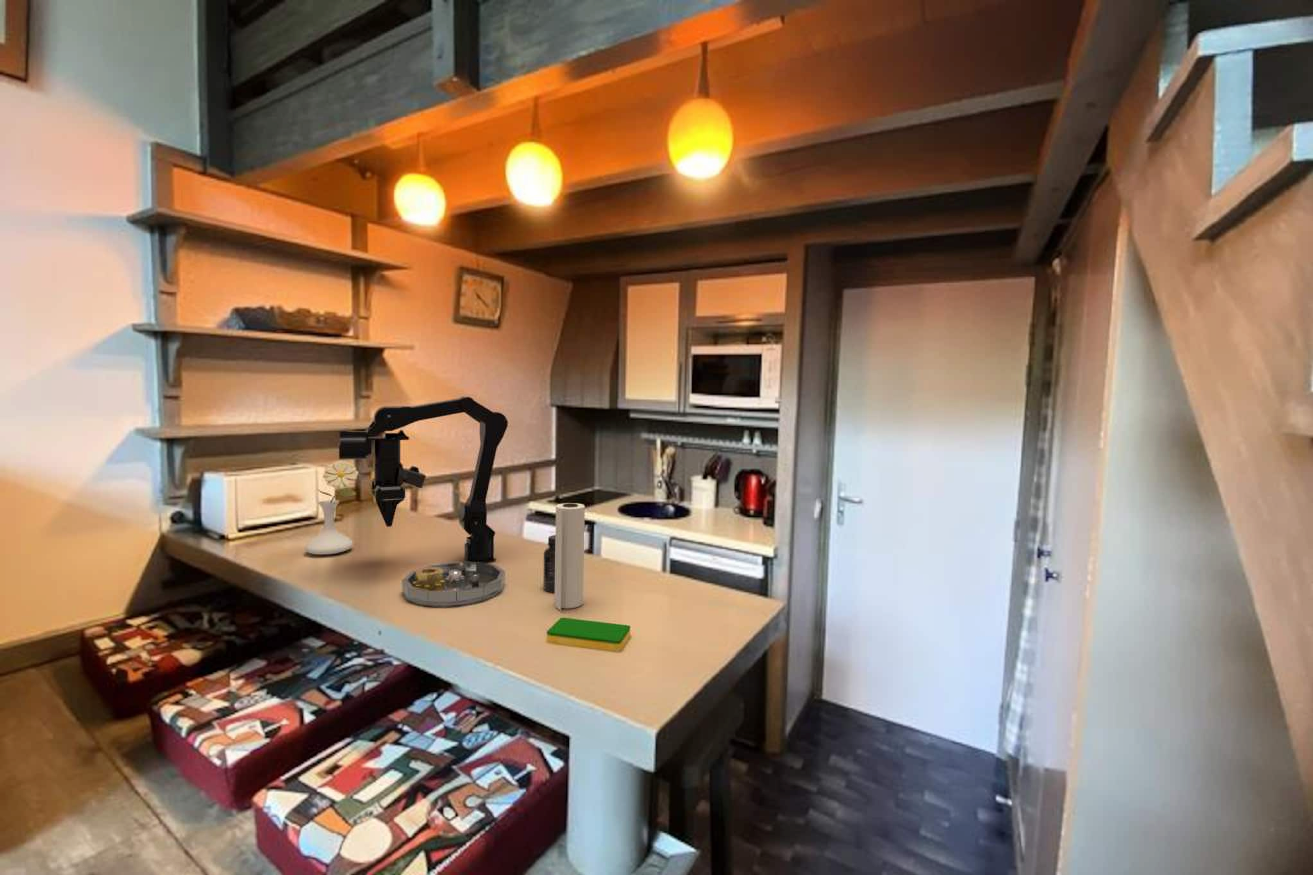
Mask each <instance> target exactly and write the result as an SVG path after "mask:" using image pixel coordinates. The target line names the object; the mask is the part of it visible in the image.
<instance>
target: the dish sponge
mask: <svg viewBox="0 0 1313 875" xmlns="http://www.w3.org/2000/svg"><path fill="white" fill-rule="evenodd" d="M630 637H631V626H630V625H627V624H622V623H621V624H620V623H619V624H618V623H612V622H603V621H596V620H587V619H579V618H572V617H571V618H570V617H560V618H559V619H558V620H557V621H555V623H554V624H553V625H552V626H550V628H548V630H546V643H548V644H557V645H564V646H572V647H577V648H585V647H586V649H594V650H599V649H602V650H601V651H607V650H608V652H614V651H617V652H616V653H619V652H618V651H620V652H621V651H622V650H621V649H623V648H624V647H625V645H626V644H627V642H628V640H629V639H630Z"/></svg>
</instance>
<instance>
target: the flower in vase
mask: <svg viewBox="0 0 1313 875" xmlns="http://www.w3.org/2000/svg"><path fill="white" fill-rule="evenodd" d="M322 474H323V476H322V478H323V479H324V482H326V485H328V486H330V487H333V488H337V489H338V490H337V492H336V493H335V494H334V495H332V494H330V493H328V492H325V491H323V490H322V491H321V490H320V489H318V492H319V493H321V494H323V495H327V496H330V497H332V498H331V499H326V500H320V501H317V504H318V505H319V506H320V507H321V509H322V512H323V519H324V520H323V521H324V524H323V528H322V530H321V531H320V532H319V533H318V534H316V535H315V536H314V537H313V538H312V539H310V540H309V541H308V542H307V543H306V545H305V547H304V550H305V551H306V552H307V553H309V554H313V555H322V556H323V555H333V554H338V553H339V554H340V553H343V552H345V551H348V550H350V549H351V548H353V546H354V542H353V540H352V539H351V538H350V537H348V536H347V535H345V534H344V533H342V532H341V531H340V530H338V529H337V528H336V526H335V513H336V508H337V506H338V505H339V503H340V500H338V499H337V500H336V499H335V497H336V496H337V495H338V494H340V495H341V496H342V497H344V498H348V497H353V496H355V495H357V493H356V492H355V491H354V490H353V489H352V488H350V487H348V486H351V485H354V484H355V483H356V480H357V478H358V475H359V471H358V470H357V467H355V464H353V463H352V462H348V461H347V460H339V459H338V461H334V462H333V463H331V464H327V466H326V468H325V469H324V472H323V473H322Z"/></svg>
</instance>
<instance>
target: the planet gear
mask: <svg viewBox="0 0 1313 875" xmlns="http://www.w3.org/2000/svg"><path fill="white" fill-rule="evenodd" d="M422 568H423V569H421V568H419V569H420V570H418V569H417V570H418V571H416V582H413V587H417V588H421V589H425V590H430V591H441V589H444V588H445V580H443V578H442V570H441V569H440V568H434V567H429V568H424V567H422Z"/></svg>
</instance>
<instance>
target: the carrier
mask: <svg viewBox="0 0 1313 875" xmlns="http://www.w3.org/2000/svg"><path fill="white" fill-rule="evenodd" d="M429 567H434V568H440V569H441V570H442V578H443V580H445V588H444V589H441V591H430V590H425V589H421V588H417V587H413V582H416V571H418V570H420V569H423V568H429ZM505 582H506V571H505V570H504V569H503V568H501V567H499V566H498V565H496V564H492V563H488V562H485V563H482V562H468V561H451V562H444V563H439V564H431V565H427V566H425V567H421V568H418V569H416V570H413V571H410V572H409V573H408V574H406V576H405V577H404V578H403V579H402V580H401V590H402V591H403V598H404V599H405V601H407V602H409V603H411V604H413V605H415V606H416V605H417V606H420V607H424V608H425V607H427V608H457V607H463V606H469V605H474V604H478V603H482V602H485V601H489V600H491V599H492V598H494V597H497V596H498V595H500V594H501V593H502V591H504V586H505V585H504V584H505Z"/></svg>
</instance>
